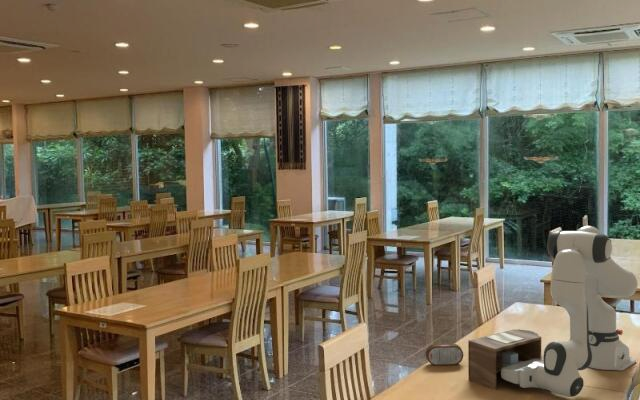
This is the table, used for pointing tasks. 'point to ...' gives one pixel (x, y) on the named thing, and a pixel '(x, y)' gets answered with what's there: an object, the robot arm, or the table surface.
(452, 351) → the oval desk clock
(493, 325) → the table surface
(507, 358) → the blue block
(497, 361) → the small brown desk
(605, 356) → the robot arm
